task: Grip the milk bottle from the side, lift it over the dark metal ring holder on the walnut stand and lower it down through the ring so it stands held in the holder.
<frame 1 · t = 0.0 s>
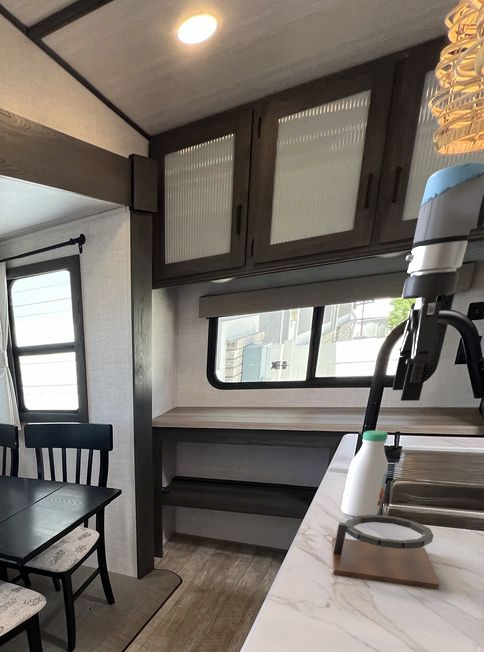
hand: (404, 395, 92), 30 cm above the counter, tool pointing down, fingers open, 13 cm apart
milk bottle: (358, 513, 116), on the counter
ring holder: (379, 562, 93), on the counter
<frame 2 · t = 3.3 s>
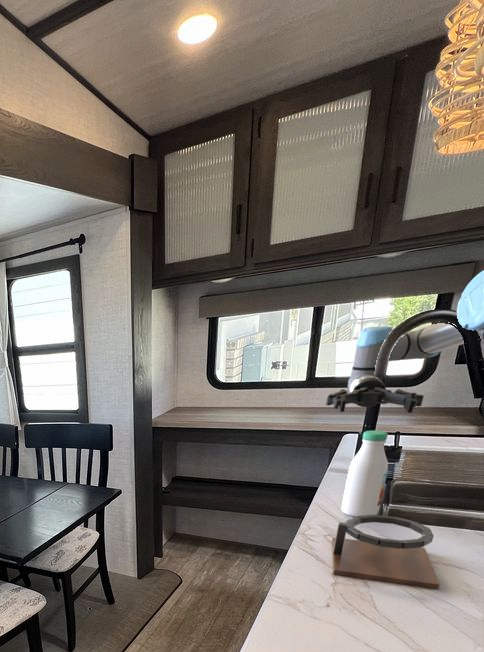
hand: (376, 406, 113), 24 cm above the counter, tool horizontal, fingers open, 13 cm apart
nothing on the counter moved.
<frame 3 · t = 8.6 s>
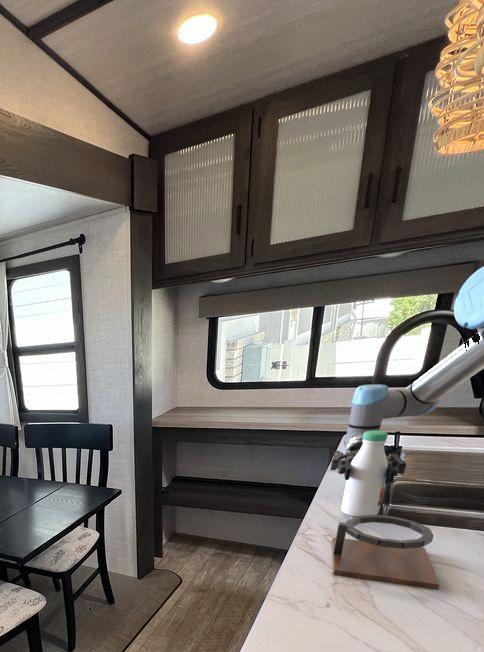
hand: (369, 475, 108), 11 cm above the counter, tool horizontal, fingers closed on milk bottle, 8 cm apart
milk bottle: (358, 513, 116), on the counter, touching gripper
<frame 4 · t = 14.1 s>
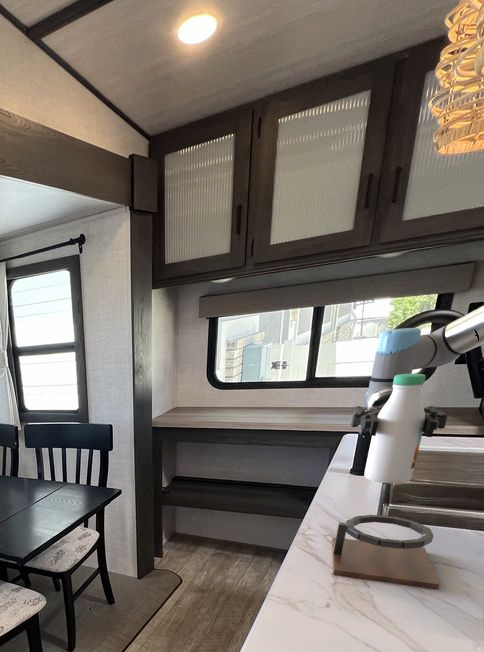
hand: (402, 429, 86), 26 cm above the counter, tool horizontal, fingers closed on milk bottle, 8 cm apart
milk bottle: (386, 479, 94), point 15 cm above the counter, touching gripper
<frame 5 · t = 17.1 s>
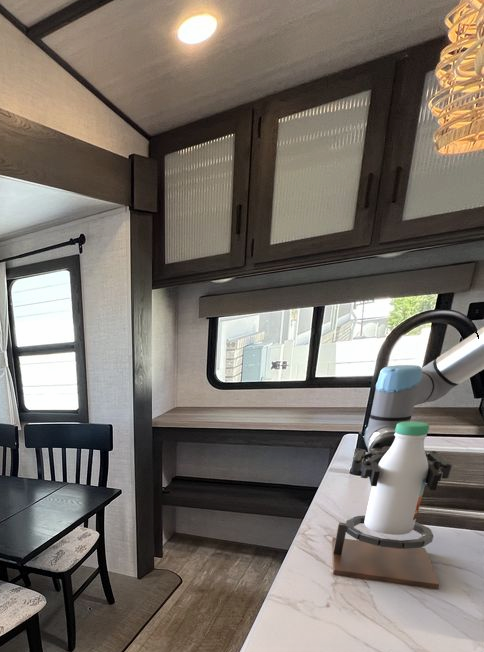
hand: (404, 480, 82), 19 cm above the counter, tool horizontal, fingers closed on milk bottle, 8 cm apart
milk bottle: (387, 528, 90), point 7 cm above the counter, touching gripper
when the fingers open (12 cm above the counter, at t = 19.4 s): milk bottle stays where it is, resting on ring holder.
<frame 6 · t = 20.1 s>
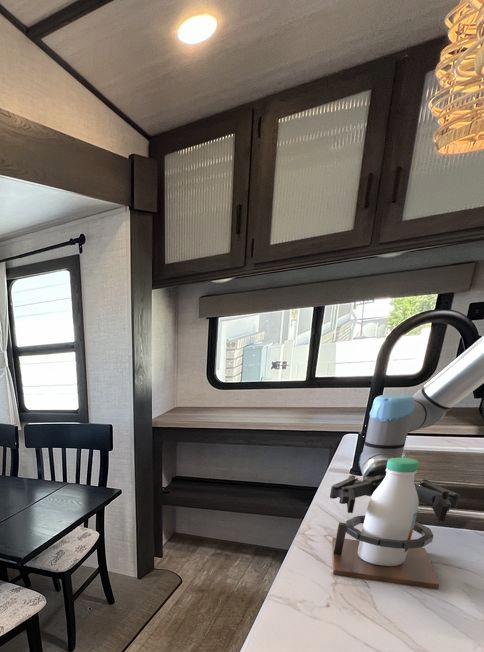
hand: (395, 509, 85), 13 cm above the counter, tool horizontal, fingers open, 13 cm apart
milk bottle: (379, 559, 93), point 1 cm above the counter, touching ring holder
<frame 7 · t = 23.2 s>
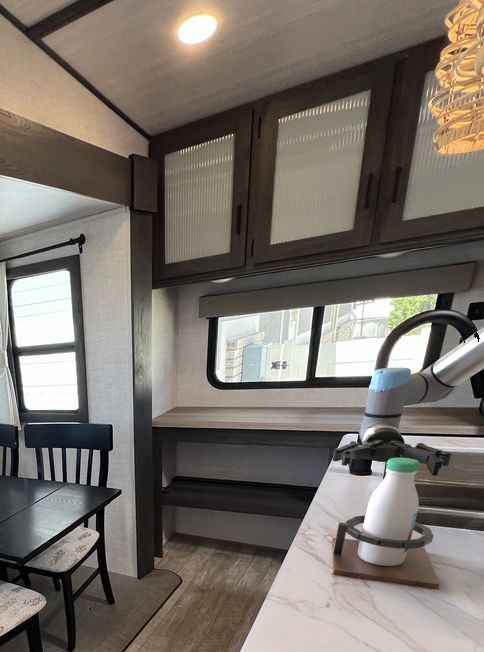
hand: (393, 467, 94), 17 cm above the counter, tool horizontal, fingers open, 13 cm apart
nothing on the counter moved.
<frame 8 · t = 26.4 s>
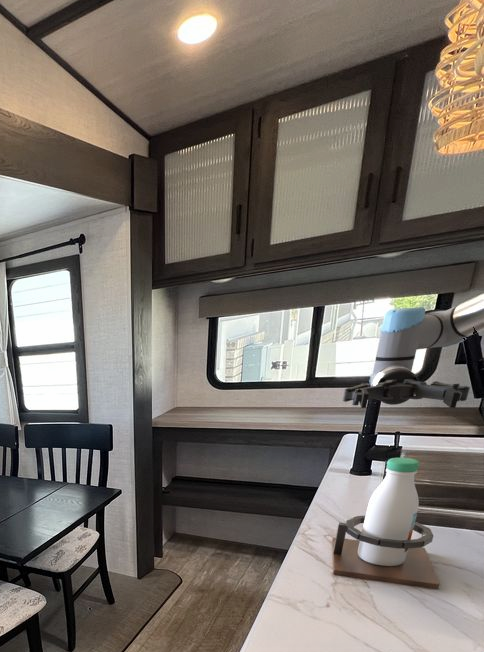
hand: (408, 400, 88), 30 cm above the counter, tool horizontal, fingers open, 13 cm apart
nothing on the counter moved.
at the end: milk bottle 0.1 cm off-centre on the ring holder, point 0.8 cm above the ring holder's base; milk bottle tilted 0°; the gripper is holding nothing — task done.
